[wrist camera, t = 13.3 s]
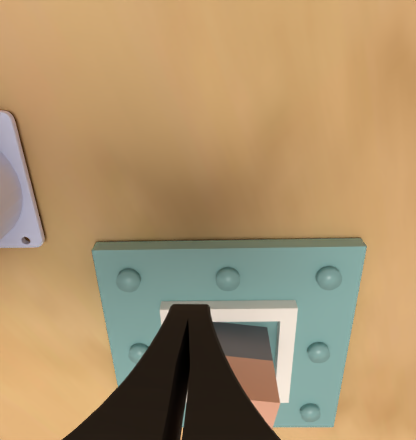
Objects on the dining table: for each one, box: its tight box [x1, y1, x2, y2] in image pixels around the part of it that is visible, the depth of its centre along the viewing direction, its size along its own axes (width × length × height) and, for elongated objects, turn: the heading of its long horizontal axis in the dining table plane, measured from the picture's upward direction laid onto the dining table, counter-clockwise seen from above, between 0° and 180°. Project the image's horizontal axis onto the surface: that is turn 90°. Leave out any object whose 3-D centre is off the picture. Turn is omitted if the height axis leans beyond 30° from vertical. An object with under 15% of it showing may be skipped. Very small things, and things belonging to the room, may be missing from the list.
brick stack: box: [213, 322, 280, 429], centre depth 23 cm, size 4×4×6 cm
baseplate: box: [92, 238, 367, 427], centre depth 25 cm, size 16×16×2 cm
